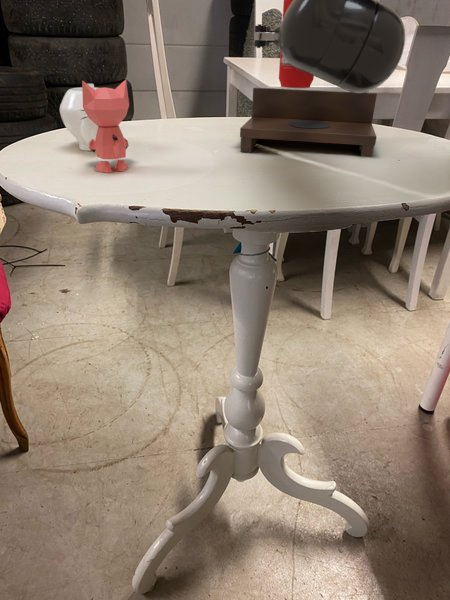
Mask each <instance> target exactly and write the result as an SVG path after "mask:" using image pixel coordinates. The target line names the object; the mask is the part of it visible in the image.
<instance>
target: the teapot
mask: <svg viewBox="0 0 450 600" xmlns="http://www.w3.org/2000/svg"><path fill="white" fill-rule="evenodd" d="M87 84H88V85H89V86H90V87H92V88H93V89H94V90H96V89H98V88H99V87H96V86H95V84H94V83H87ZM81 110H84V109H83V93H82V86H80V87H72V88H69V89H68V90H67V91H66V92H65V93H64V95H63V98H62V100H61V103H60V104H59V114H60V118H61V121H62V124H63V125H64V126H65V128H66V129H67V131H68V132H69V133H70V134H71V135H72V137H74V138H75V139H76V141H77V142H78V147H79V149H80V150H81V151H86V152H93V151H92V150H90V149H89V142H90V141H91V140H92V139H94V141H95V139H96V134H97V130H98V127H99V126H97V125H96V124H95V123H94V122H93V121H92V120H90V119H89V118H88V117H87V114H86V112H85V111H81ZM84 117H87V118H84ZM82 118H84V119H82ZM80 119H81V120H80Z"/></svg>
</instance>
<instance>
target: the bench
mask: <svg viewBox="0 0 450 600" xmlns="http://www.w3.org/2000/svg"><path fill="white" fill-rule="evenodd" d="M377 95H378V92H366V93H353V92H350V91H341V90H340V91H339V90H321V89H319V90H318V89H299V88H273V87H253V88H252V107H251V117H250V118H249V119H248V120H247V121H246V122H245V123H244V124H243V125H242V126H241V127H240V128H239V137H240V153H249V154H251V153H252V152H253V151H254V149H255V148H256V146H257V145H258V143H257V142H258V140H259V139H260V140H275V141H291V142H307V143H322V144H323V143H325V144H336V145H337V144H340V145H352V146H353V145H355V146H358V148H359V154H360V156H361V157H371V158H372V157H373V155H374V148H375V146H376V142H377V133H376V131H375V129H374V126H373V120H374V113H375V108H376V101H377Z"/></svg>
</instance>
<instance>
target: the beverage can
mask: <svg viewBox="0 0 450 600" xmlns="http://www.w3.org/2000/svg"><path fill="white" fill-rule="evenodd" d="M292 1H293V0H283V8H282V18H283V17H284V15H285V13H286V11H287V9H288V8H289V6H290V4H291V3H292ZM279 53H280V54H279V67H278V81H279V83H280V87H281V88H283V89H310V88H311V85H312V83H313V81H314V78H315V76H313V75H311V74H308V73H304V72H302V71H300V70H298V69H296V68H295V67H293V66H291V65H289V64H288V63H287V62H286V61H285V60H284V58H283V57H282V54H281V51H279Z"/></svg>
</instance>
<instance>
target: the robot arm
mask: <svg viewBox="0 0 450 600" xmlns="http://www.w3.org/2000/svg"><path fill="white" fill-rule="evenodd" d="M253 41H254V42H253V47H254V48H255V47H256V49H261V48H267V47H270V43H272V47H275V48H277V49H278V51H279V52H280V51H281V54H282V57H283V58H284V60H285V61H286V62H287V63H288V64H289V65H291V66H293V67H295V68H296V69H298V70H300V71H302V72H304V73H308V74H311V75H313V76H314V78H315V77H316V78H318V79H320V80H322V81H324V82H327V83H329V84H331V85H334V86H336V87H338V88H341V89H343V90H345V91H346V92H353V93H370V92H371V91H374V90H375V89H377V88H378V87H380V86H382V85H383V84H384V83H386V82H387V80H388V79H389V78H390V77H391V76H392V75H393V73H394V72H395V71H396V69H397V67H398V65H399V63H400V62H401V59H402V57H403V54H404V49H405V44H406V28H405V25H404V22H403V19H402V18H401V16H400V15H399V13H398V12H397V11H396V10H394V9H393V8H392V7H390V6H388V5H387V4H384V3H382V2H381V1H378V0H293V1H292V3H291V4H290V6H289V8H288V9H287V11H286V13H285V15H284V17H283V16H282V20H281V22H280V24H279V25H278V24H277V25H276V26H273V30H271V26H270V25H268V24H264V25H262V24H261V23H259V24H257V25H254V39H253Z"/></svg>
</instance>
